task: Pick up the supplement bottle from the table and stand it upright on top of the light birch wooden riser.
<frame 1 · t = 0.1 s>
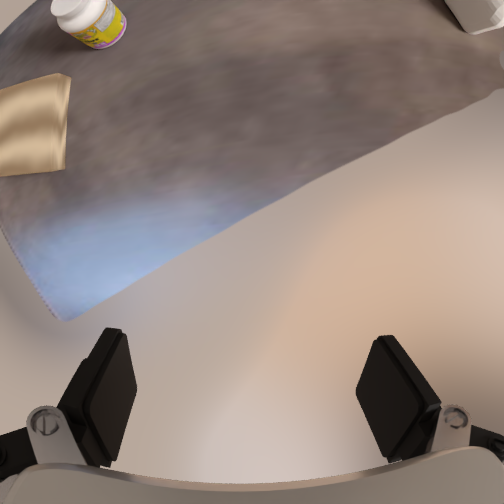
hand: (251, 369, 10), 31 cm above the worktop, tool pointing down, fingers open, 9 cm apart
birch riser: (32, 127, 33), on the worktop
soap bottle: (462, 12, 29), on the worktop
supplement bottle: (107, 31, 29), on the worktop
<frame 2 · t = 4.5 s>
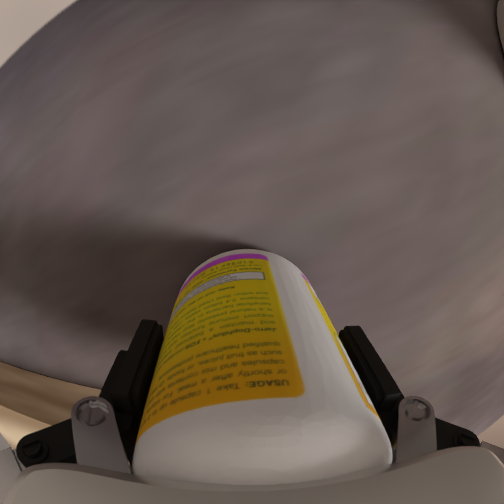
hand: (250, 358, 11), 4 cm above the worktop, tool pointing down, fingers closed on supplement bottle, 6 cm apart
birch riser: (91, 438, 18), on the worktop
supplement bottle: (246, 307, 14), on the worktop, touching gripper
when the fingers open (9 cm above the worktop, at t = 11.0 s): supplement bottle drops 1 cm, resting on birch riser.
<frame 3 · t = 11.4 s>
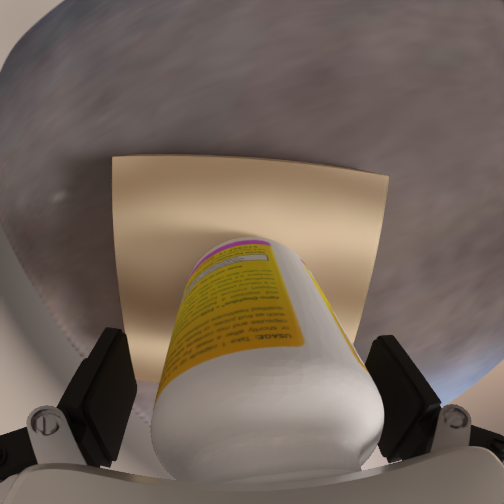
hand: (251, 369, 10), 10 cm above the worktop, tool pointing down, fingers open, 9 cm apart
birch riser: (242, 266, 19), on the worktop
supplement bottle: (250, 292, 16), point 4 cm above the worktop, touching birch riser
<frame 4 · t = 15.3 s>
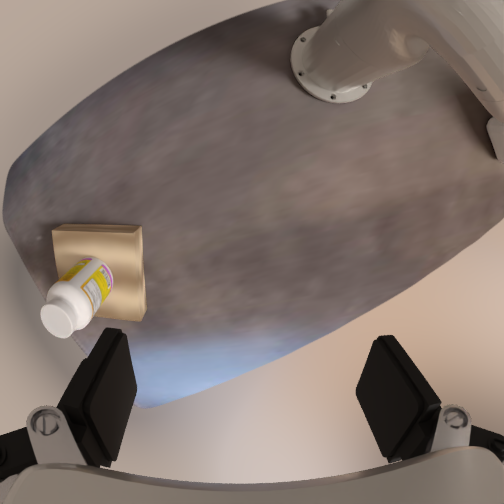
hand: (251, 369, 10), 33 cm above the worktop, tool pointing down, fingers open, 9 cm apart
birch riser: (103, 266, 43), on the worktop
soap bottle: (499, 135, 39), on the worktop
supplement bottle: (96, 275, 40), point 4 cm above the worktop, touching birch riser
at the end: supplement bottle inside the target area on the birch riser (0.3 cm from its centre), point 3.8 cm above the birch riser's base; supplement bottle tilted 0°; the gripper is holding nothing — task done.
